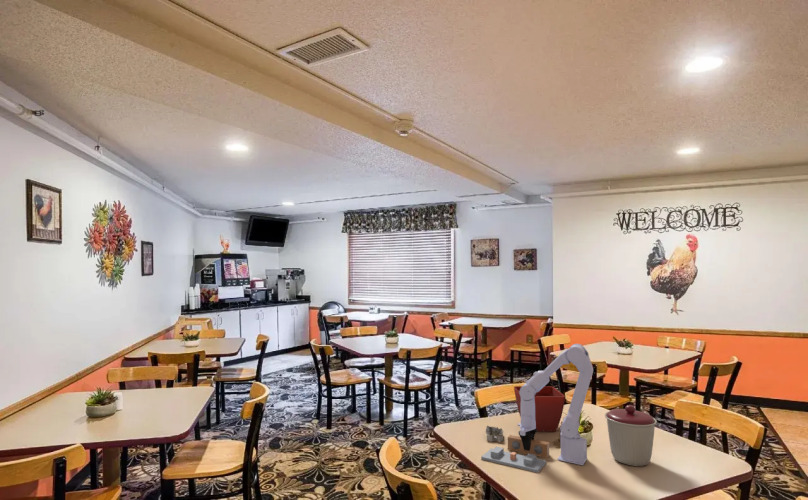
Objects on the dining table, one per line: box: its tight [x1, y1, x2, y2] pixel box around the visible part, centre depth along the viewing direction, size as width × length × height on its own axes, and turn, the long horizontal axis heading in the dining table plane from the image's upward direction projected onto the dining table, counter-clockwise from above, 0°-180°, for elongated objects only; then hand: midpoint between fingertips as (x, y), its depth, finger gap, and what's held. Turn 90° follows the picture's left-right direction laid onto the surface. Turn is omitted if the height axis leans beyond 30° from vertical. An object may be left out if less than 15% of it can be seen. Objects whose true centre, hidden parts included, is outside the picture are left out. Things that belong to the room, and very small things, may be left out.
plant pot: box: [513, 385, 566, 433], centre depth 218 cm, size 19×19×17 cm
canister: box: [604, 404, 658, 467], centre depth 180 cm, size 18×18×21 cm
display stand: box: [480, 446, 547, 474], centre depth 179 cm, size 22×10×3 cm, turn 58°
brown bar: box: [507, 434, 550, 459], centre depth 188 cm, size 16×3×5 cm, turn 59°
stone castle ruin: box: [485, 425, 504, 443], centre depth 205 cm, size 11×8×4 cm
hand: (528, 448), depth 188 cm, fingers closed on brown bar, 3 cm apart
